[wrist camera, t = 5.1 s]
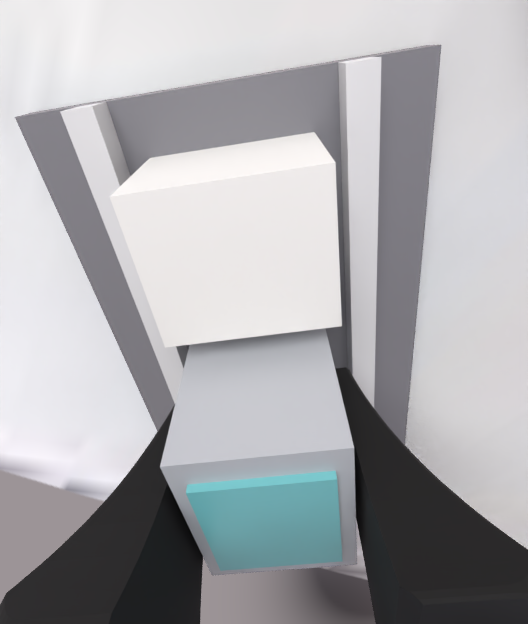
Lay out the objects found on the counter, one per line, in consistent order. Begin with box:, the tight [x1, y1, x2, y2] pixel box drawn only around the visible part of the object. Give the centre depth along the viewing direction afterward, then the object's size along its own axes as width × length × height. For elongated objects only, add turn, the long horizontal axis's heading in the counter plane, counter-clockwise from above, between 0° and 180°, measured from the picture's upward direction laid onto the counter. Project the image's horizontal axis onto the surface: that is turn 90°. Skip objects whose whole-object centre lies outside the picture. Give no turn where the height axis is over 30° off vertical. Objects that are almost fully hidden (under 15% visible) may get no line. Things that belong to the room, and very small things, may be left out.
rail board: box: [15, 45, 441, 445], centre depth 14 cm, size 18×11×4 cm, turn 8°
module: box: [160, 328, 357, 575], centre depth 12 cm, size 5×4×6 cm
